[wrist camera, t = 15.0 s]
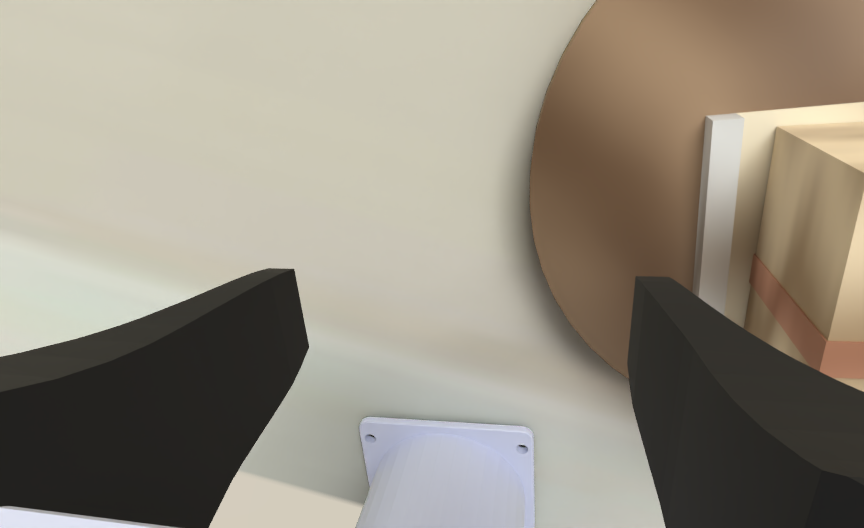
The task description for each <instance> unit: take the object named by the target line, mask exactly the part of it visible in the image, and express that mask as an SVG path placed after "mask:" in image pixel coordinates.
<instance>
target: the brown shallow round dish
mask: <svg viewBox="0 0 864 528" xmlns="http://www.w3.org/2000/svg"><path fill="white" fill-rule="evenodd" d="M849 122H864V0H596V2H595V3H594V4H593V6H592V7H591V8H590V10H589V11H588V13H587V14H586V15H585V17H584V18H583V19H582V21H581V23H580V25H579V26H578V28H577V30H576V32H575V33H574V35H573V37H572V38H571V40H570V42H569V44H568V45H567V47H566V49H565V51H564V52H563V54H562V56H561V58H560V61H559V63H558V65H557V68H556V70H555V73H554V75H553V77H552V80H551V82H550V84H549V87H548V89H547V91H546V95H545V98H544V102H543V105H542V109H541V113H540V116H539V120H538V123H537V127H536V133H535V140H534V147H533V154H532V160H531V170H530V213H531V221H532V229H533V237H534V242H535V246H536V249H537V253H538V257H539V260H540V264H541V268H542V271H543V273H544V275H545V278H546V280H547V282H548V285H549V287H550V289H551V291H552V294H553V296H554V298H555V300H556V302H557V303H558V305H559V306H560V308H561V310H562V311H563V313H564V314H565V316H566V318H567V319H568V321H569V322H570V324H571V325H572V326H573V328H574V329H575V330H576V331H577V332H578V334H579V335H580V336H581V337H582V338H583V340H584V341H585V342H586V343H587V344H588V346H589V347H590V348H591V349H592V350H593V351H595V352H596V353H597V354H598V355H599V356H600V357H601V358H602V359H603V360H604V361H605V362H607V363H608V364H609V365H610V366H611V367H612V368H614V369H615V370H616V371H618V372H619V373H621V374H622V375H623V376H625V377H626V378H628V379H629V374H628V366H627V360H628V349H629V339H630V329H631V318H632V308H633V297H634V287H635V277H636V276H653V277H670V278H672V279H674V280H675V281H677V282H678V283H680V284H681V285H682V286H684V287H685V288H687V289H688V290H689V291H691V292H692V293H693V294H695V295H696V296H698V297H699V298H700V299H702V300H703V301H704V302H706V303H707V304H709V305H710V306H711V307H713V308H714V309H716V310H717V311H718V312H720V313H721V314H723V315H724V316H726V317H727V318H728V319H730V320H731V321H733V322H734V323H736V324H737V325H739V326H740V327H742V328H744V324H745V318H746V311H747V305H748V299H749V293H750V287H751V284H750V283H749V279H750V273H751V267H752V260H753V254H756V250H757V244H758V238H759V232H760V226H761V220H762V214H763V208H764V202H765V196H766V189H767V183H768V177H769V171H770V165H771V159H772V153H773V147H774V141H775V135H776V128H777V126H792V125H811V124H830V123H849Z"/></svg>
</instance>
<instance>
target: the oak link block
mask: <svg viewBox="0 0 864 528" xmlns="http://www.w3.org/2000/svg"><path fill="white" fill-rule="evenodd" d="M749 283H750V284H751V287H750V293H749V299H748V305H747V311H746V318H745V324H744V329H745V330H747V331H748V332H750V333H751V334H753V335H755V336H756V337H758V338H760V339H761V340H763V341H764V342H766V343H768V344H769V345H771V346H773V347H774V348H776V349H778V350H779V351H781V352H783V353H785V354H787V355H788V356H790V357H792V358H794V359H796V360H798V361H800V362H802V363H804V364H806V365H808V366H810V367H812V368H814V369H816V370H818V371H820V372H822V373H824V374H826V375H828V376H830V377H832V378H834V379H836V380H838V381H840V382H843V383H845V384H847V385H849V386H851V387H854V388H856V389H858V390H861V391H863V392H864V122H849V123H830V124H811V125H792V126H777V128H776V135H775V141H774V147H773V153H772V159H771V165H770V171H769V177H768V183H767V189H766V196H765V202H764V208H763V214H762V220H761V226H760V232H759V238H758V244H757V250H756V254H753V260H752V267H751V273H750V279H749Z"/></svg>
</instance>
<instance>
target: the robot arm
mask: <svg viewBox="0 0 864 528" xmlns="http://www.w3.org/2000/svg"><path fill="white" fill-rule="evenodd" d="M308 348H309V344H308V339H307V334H306V329H305V324H304V318H303V313H302V308H301V303H300V297H299V292H298V287H297V282H296V277H295V271H294V269H271V268H269V269H265V270H261V271H257V272H254V273H251V274H248V275H246V276H243V277H241V278H238V279H236V280H233V281H231V282H228V283H226V284H223V285H221V286H219V287H216V288H214V289H212V290H209V291H207V292H204V293H202V294H200V295H197V296H195V297H193V298H190V299H188V300H186V301H183V302H180V303H178V304H175V305H173V306H170V307H168V308H165V309H163V310H160V311H158V312H155V313H153V314H150V315H147V316H145V317H142V318H140V319H137V320H134V321H131V322H129V323H126V324H123V325H120V326H117V327H114V328H111V329H107V330H104V331H101V332H98V333H94V334H91V335H88V336H85V337H81V338H78V339H74V340H70V341H66V342H62V343H58V344H54V345H50V346H46V347H42V348H38V349H34V350H30V351H26V352H22V353H17V354H13V355H8V356H3V357H0V528H209V525H210V523H211V521H212V519H213V517H214V515H215V513H216V511H217V509H218V507H219V505H220V503H221V501H222V499H223V497H224V495H225V493H226V491H227V489H228V487H229V485H230V483H231V481H232V480H233V478H234V476H235V475H236V473H237V471H238V470H239V468H240V466H241V464H242V463H243V461H244V460H245V458H246V457H247V455H248V453H249V452H250V450H251V449H252V447H253V446H254V444H255V443H256V441H257V440H258V438H259V436H260V435H261V433H262V432H263V430H264V429H265V427H266V426H267V424H268V423H269V421H270V419H271V418H272V416H273V415H274V413H275V412H276V410H277V409H278V407H279V405H280V404H281V402H282V401H283V399H284V397H285V396H286V394H287V393H288V391H289V389H290V388H291V386H292V384H293V383H294V380H295V378H296V376H297V374H298V372H299V370H300V368H301V365H302V363H303V360H304V358H305V356H306V353H307V351H308ZM627 366H628V374H629V382H630V390H631V397H632V404H633V409H634V412H635V416H636V420H637V423H638V427H639V431H640V434H641V438H642V441H643V445H644V448H645V452H646V455H647V459H648V462H649V466H650V470H651V473H652V477H653V480H654V484H655V487H656V491H657V494H658V498H659V501H660V505H661V509H662V514H663V518H664V522H665V526H666V528H864V392H863V391H861V390H858V389H856V388H854V387H851V386H849V385H847V384H845V383H843V382H840V381H838V380H836V379H834V378H832V377H830V376H828V375H826V374H824V373H822V372H820V371H818V370H816V369H814V368H812V367H810V366H808V365H806V364H804V363H802V362H800V361H798V360H796V359H794V358H792V357H790V356H788V355H787V354H785V353H783V352H781V351H779V350H778V349H776V348H774V347H773V346H771V345H769V344H768V343H766V342H764V341H763V340H761V339H760V338H758V337H756V336H755V335H753V334H751V333H750V332H748V331H747V330H745V329H744V328H742V327H740V326H739V325H737V324H736V323H734V322H733V321H731V320H730V319H728V318H727V317H726V316H724V315H723V314H721V313H720V312H718V311H717V310H716V309H714V308H713V307H711V306H710V305H709V304H707V303H706V302H704V301H703V300H702V299H700V298H699V297H698V296H696V295H695V294H693V293H692V292H691V291H689V290H688V289H687V288H685V287H684V286H682V285H681V284H680V283H678V282H677V281H675V280H674V279H672V278H670V277H653V276H636V277H635V287H634V297H633V308H632V318H631V329H630V339H629V349H628V360H627ZM359 431H360V437H361V443H362V448H363V454H364V459H365V465H366V470H367V476H368V481H369V487H370V489H369V492H368V495H367V498H366V500H365V503H364V506H363V509H362V511H361V514H360V517H359V520H358V522H357V525H356V528H535V496H534V435H533V432H532V431H531V429H529V428H527V427H524V426H512V425H496V424H479V423H463V422H447V421H431V420H414V419H398V418H382V417H365V418H363V419H362V421H361V423H360V425H359ZM368 434H371V435H373V436H374V437H371V436H370V435H368ZM518 445H525V446H526V447H523V448H522V447H519V446H518Z"/></svg>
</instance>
